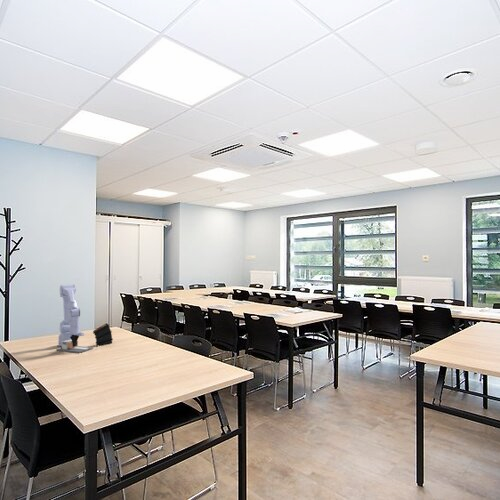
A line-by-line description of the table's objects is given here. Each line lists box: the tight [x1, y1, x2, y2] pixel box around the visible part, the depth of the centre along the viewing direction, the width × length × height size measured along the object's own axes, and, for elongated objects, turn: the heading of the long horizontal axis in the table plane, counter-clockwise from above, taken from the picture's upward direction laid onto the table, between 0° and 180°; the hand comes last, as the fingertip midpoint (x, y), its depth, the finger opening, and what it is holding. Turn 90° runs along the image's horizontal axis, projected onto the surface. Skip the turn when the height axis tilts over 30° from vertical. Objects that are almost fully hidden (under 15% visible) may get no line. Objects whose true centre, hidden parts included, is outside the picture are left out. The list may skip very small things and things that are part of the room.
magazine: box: [92, 323, 114, 346], centre depth 263 cm, size 4×13×15 cm, turn 133°
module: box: [62, 340, 72, 349], centre depth 247 cm, size 4×7×5 cm, turn 161°
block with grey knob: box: [68, 340, 79, 348], centre depth 246 cm, size 3×6×4 cm, turn 161°
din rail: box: [56, 345, 94, 354], centre depth 245 cm, size 20×12×3 cm, turn 71°
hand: (74, 346), depth 245 cm, fingers closed, pressing on block with grey knob
